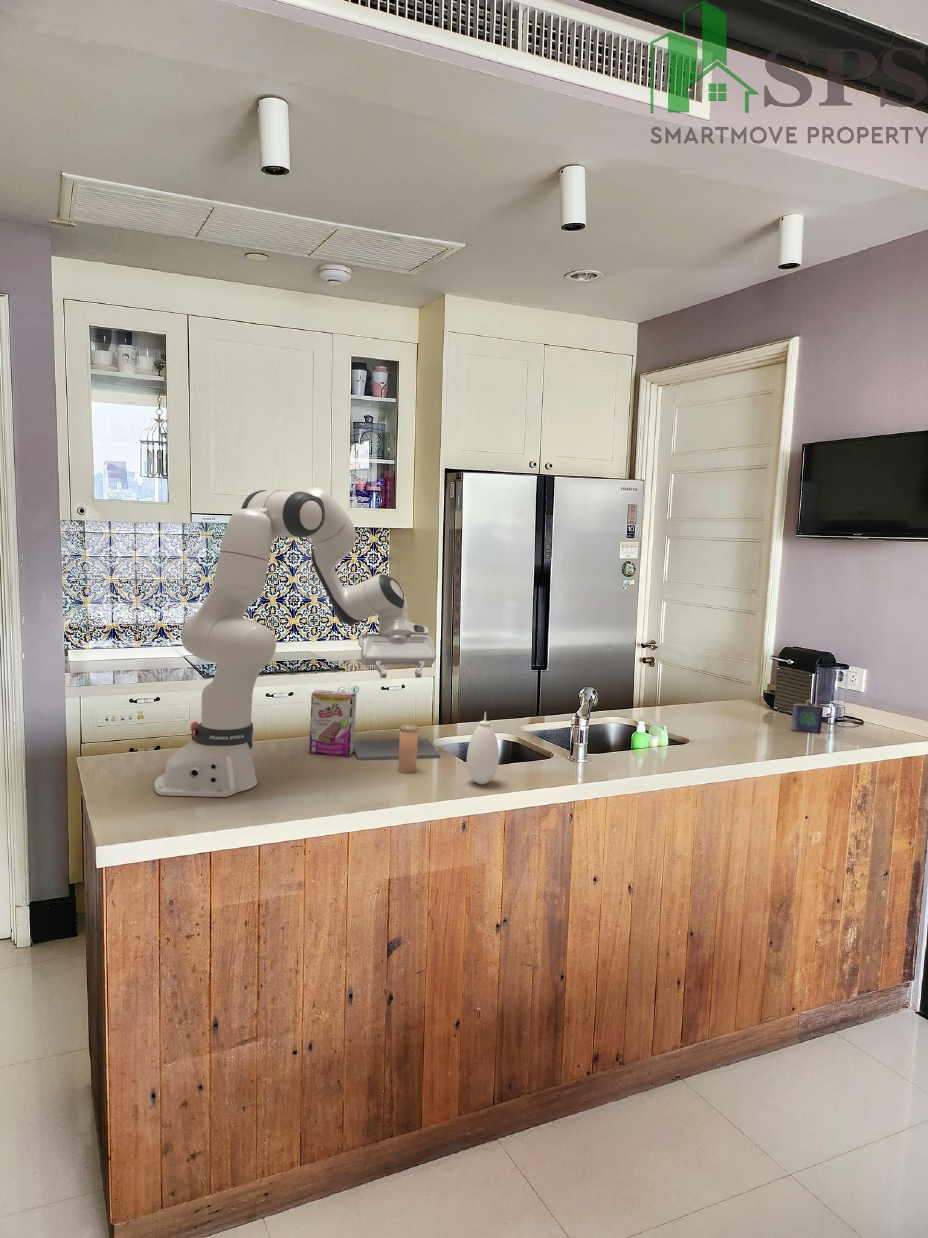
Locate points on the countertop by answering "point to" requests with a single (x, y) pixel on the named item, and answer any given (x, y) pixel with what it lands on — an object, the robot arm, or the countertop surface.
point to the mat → (390, 749)
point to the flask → (807, 718)
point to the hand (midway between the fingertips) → (401, 676)
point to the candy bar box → (332, 723)
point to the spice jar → (408, 748)
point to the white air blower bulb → (483, 753)
